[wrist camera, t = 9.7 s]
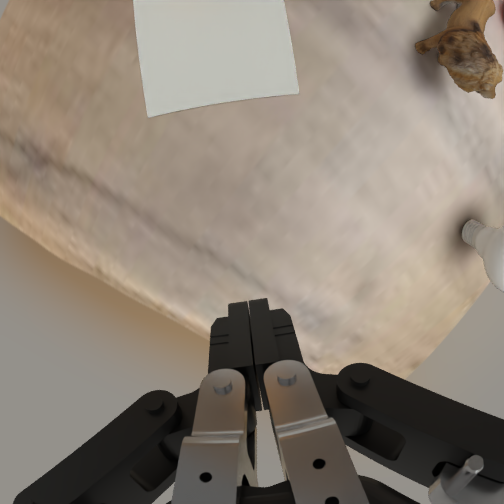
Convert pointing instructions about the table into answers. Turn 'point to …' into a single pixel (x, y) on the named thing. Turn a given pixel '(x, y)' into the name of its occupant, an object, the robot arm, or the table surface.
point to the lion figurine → (466, 47)
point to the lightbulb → (487, 249)
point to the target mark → (212, 52)
